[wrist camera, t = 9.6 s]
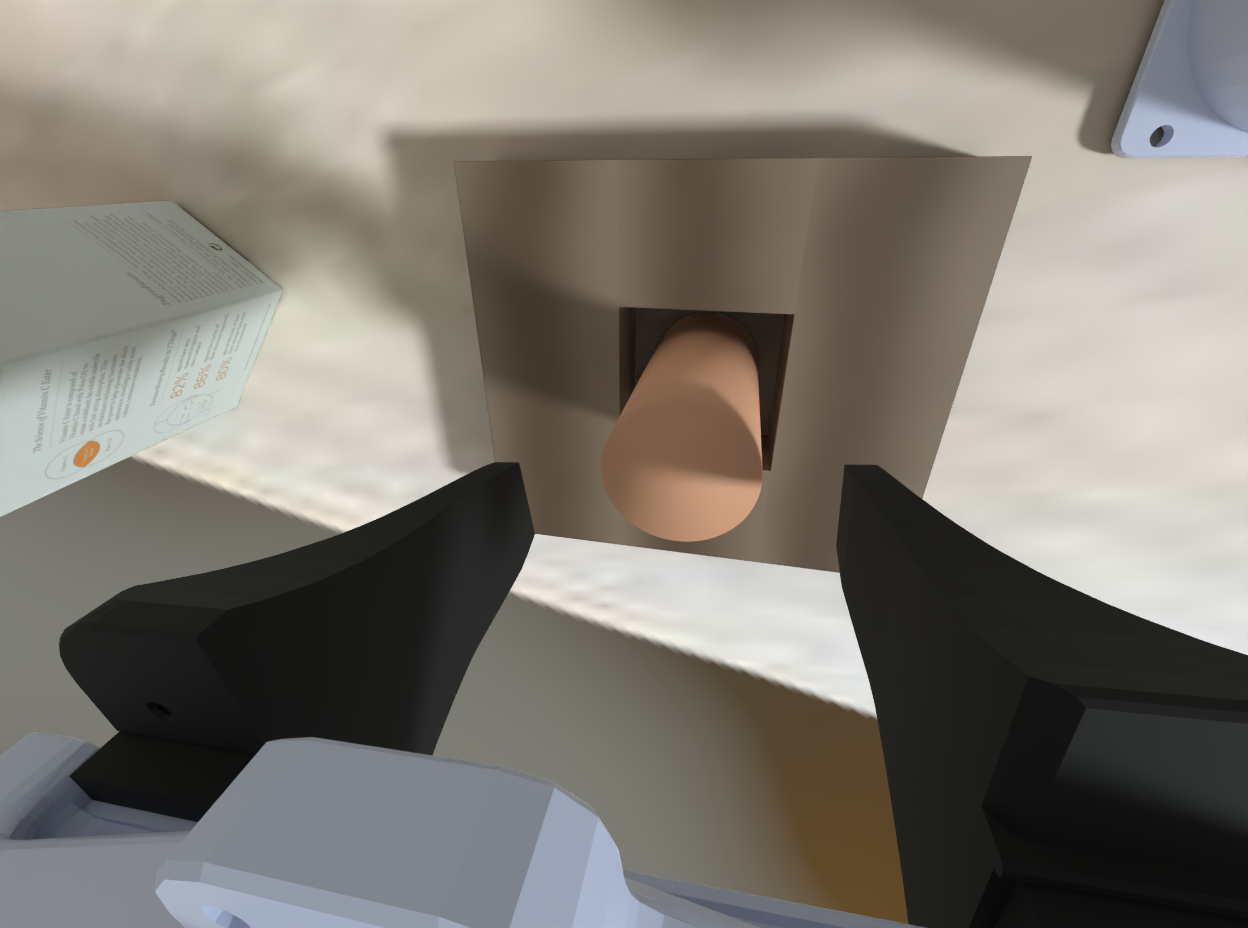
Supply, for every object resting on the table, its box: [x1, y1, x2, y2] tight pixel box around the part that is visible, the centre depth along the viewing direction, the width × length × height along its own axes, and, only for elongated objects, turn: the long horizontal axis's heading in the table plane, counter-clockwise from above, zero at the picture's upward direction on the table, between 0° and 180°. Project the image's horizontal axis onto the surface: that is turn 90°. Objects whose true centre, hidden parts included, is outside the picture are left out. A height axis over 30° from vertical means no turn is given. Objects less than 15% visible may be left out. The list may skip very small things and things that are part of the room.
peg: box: [601, 313, 763, 542], centre depth 17 cm, size 4×4×9 cm
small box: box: [0, 201, 283, 517], centre depth 20 cm, size 8×6×10 cm
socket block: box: [454, 156, 1032, 573], centre depth 19 cm, size 16×14×3 cm
